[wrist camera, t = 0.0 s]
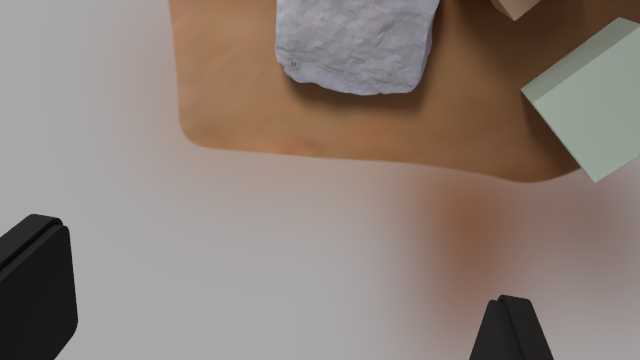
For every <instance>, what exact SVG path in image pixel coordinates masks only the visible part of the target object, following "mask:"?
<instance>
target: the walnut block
mask: <svg viewBox="0 0 640 360" xmlns="http://www.w3.org/2000/svg"><path fill="white" fill-rule="evenodd" d="M490 1H491V3H492V4H493V5H494V7H495V8H496V9H497V10H499V11H500V12H502V13H503V14H505V15H506V16H508V17H509V18H511V19H512V20H514V21H516V20H517V19H518V18H519V17H521V16H522V15H523V14H524V13H526V12H527V11H528V10H529V9H531V8H532V7H533V6H534V5H536V4H537V3H538V2H540V1H541V0H490Z"/></svg>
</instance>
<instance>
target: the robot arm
mask: <svg viewBox="0 0 640 360" xmlns="http://www.w3.org/2000/svg"><path fill="white" fill-rule="evenodd" d="M77 324H78V315H77V304H76V294H75V284H74V274H73V264H72V254H71V244H70V234H69V229H68V227H66V226H63V223H62V221H61V220H60V219H59V218H55V217H50V216H44V215H38V214H31V215H29V216H27V217H26V218H25V219H23V220H22V221H21V222H20V223H18V224H17V225H16V226H14V227H13V228H12V229H11V230H9V231H8V232H7V233H6V234H4V235H3V236H2V237H0V360H54V359H55V358H56V357H57V356H58V354H59V353H60V351H61V350H62V349H63V347H65V345H66V344H67V343H68V341H69V340H70V339H71V337H72V336H73V335H74V333H75V331H76V328H77ZM469 360H554V359H553V356H552V354H551V351H550V349H549V346H548V344H547V341H546V339H545V336H544V334H543V331H542V329H541V326H540V323H539V321H538V318H537V316H536V313H535V311H534V309H533V306H532V303H531V302H530V300H528V299H525V298H519V297H513V296H507V295H500V297H499V298H498V300H497V301H496V300H490V301H489V303H488V305H487V308H486V311H485V314H484V317H483V320H482V324H481V326H480V329H479V332H478V335H477V338H476V341H475V344H474V347H473V350H472V353H471V355H470V359H469Z"/></svg>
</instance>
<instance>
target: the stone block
mask: <svg viewBox="0 0 640 360" xmlns="http://www.w3.org/2000/svg"><path fill="white" fill-rule="evenodd" d="M439 1H440V0H277V14H276V42H275V53H276V58H277V61H278V62H279V63H280V64H281V66H282V68H283V70H284V71H285V73H286V74H287V75H289V76H290V77H291V78H293V79H294V80H295V81H297V82H300V83H308V82H312V83H316V84H319V85H320V86H322V87H324V88H327V89H331V90H334V91H338V92H344V93H352V94H357V95H376V94H379V93H382V94H385V95H386V94H389V93H408V92H411V91H412V90H413V89H414V88H415V87H416V86H417V85H418V84H419V81H420V80H421V78H422V75H423V72H424V69H425V66H426V63H427V57H428V55H429V53H430V51H431V46H432V27H433V23H432V22H433V19H434V16H435V11H436V9H437V7H438V4H439Z"/></svg>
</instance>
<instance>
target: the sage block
mask: <svg viewBox="0 0 640 360" xmlns="http://www.w3.org/2000/svg"><path fill="white" fill-rule="evenodd" d="M520 90H521V91H522V92H523V94H524V95H525V96H526V98H527V99H528V100H529V101H530V103H531V104H532V105H533V107H534V108H535V109H536V110H537V112H538V113H539V114H540V115H541V117H542V118H543V119H544V121H545V122H546V123H547V124H548V126H549V127H550V128H551V130H552V131H553V132H554V133H555V135H556V136H557V137H558V139H559V140H560V141H561V142H562V144H563V145H564V146H565V148H566V149H567V150H568V151H569V153H570V154H571V155H572V157H573V158H574V159H575V160H576V162H577V163H578V164H579V165H580V167H581V168H582V169H583V170H584V171H585V172H586V174H587V175H588V176H589V177H590V178H591V180H592V181H593V182H594V183H596V182H598V181H599V180H601V179H602V178H604V177H605V176H607V175H609V174H611V173H612V172H614V171H615V170H617V169H619V168H620V167H622V166H624V165H625V164H627V163H628V162H630V161H632V160H633V159H635V158H636V157H638V156H640V24H638V23H635V22H633V21H630V20H627V19H624V18H621V17H618V18H617V19H615V20H614V21H613V22H611V23H610V24H608V25H607V26H606V27H604V28H603V29H602V30H600V31H599V32H598V33H596V34H595V35H593V36H592V37H591V38H589V39H588V40H587V41H585V42H584V43H583V44H581V45H580V46H578V47H577V48H576V49H574V50H573V51H572V52H570V53H569V54H568V55H566V56H565V57H563V58H562V59H561V60H559V61H558V62H557V63H555V64H554V65H553V66H551V67H550V68H548V69H547V70H546V71H544V72H543V73H542V74H540V75H539V76H538V77H536V78H535V79H533V80H532V81H531V82H529V83H528V84H527V85H525V86H524V87H523V88H521V89H520Z"/></svg>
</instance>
